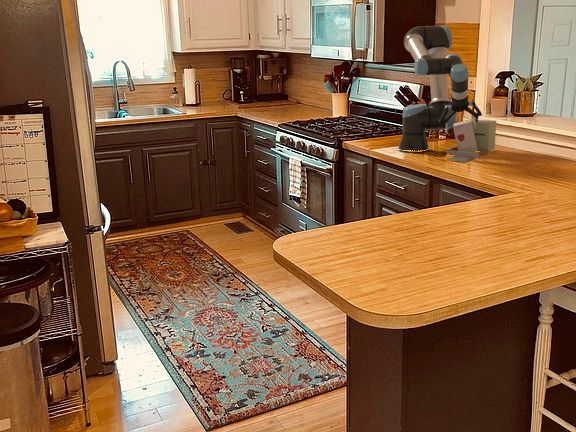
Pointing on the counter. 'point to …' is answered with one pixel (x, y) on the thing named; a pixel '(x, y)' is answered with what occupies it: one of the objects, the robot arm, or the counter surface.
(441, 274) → the counter surface
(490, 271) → the counter surface
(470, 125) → the supplement box
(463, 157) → the trivet
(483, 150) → the dispenser rack
